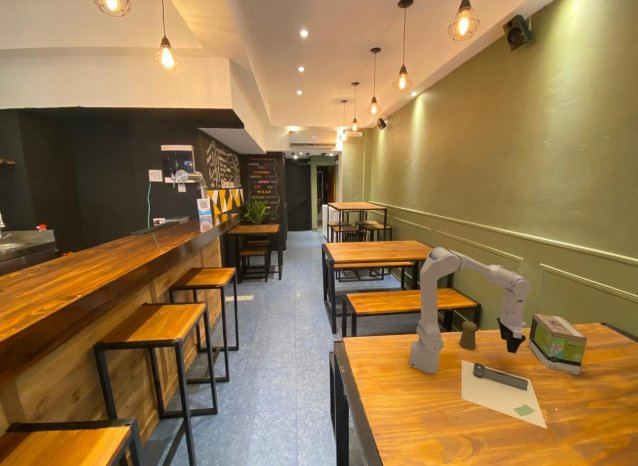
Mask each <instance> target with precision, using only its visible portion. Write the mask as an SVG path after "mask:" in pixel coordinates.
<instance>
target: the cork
mask: <svg viewBox="0 0 638 466" xmlns="http://www.w3.org/2000/svg"><path fill="white" fill-rule="evenodd" d="M461 326H462V327H461V328H462V332H461V337H460V340H459V346H460V347H461V348H462V349H465V350H467V351H474V350H476V333H477V331H478V326H477V324H476V323H475V322H473V321H469V320H468V321H467V320H466V321H463V322H462V325H461Z"/></svg>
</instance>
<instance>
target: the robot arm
mask: <svg viewBox="0 0 638 466" xmlns="http://www.w3.org/2000/svg"><path fill="white" fill-rule="evenodd" d="M465 268H466V269H468V270H471V271H473V272H476V273H479V274H481V275H483V277H484V279H485V281H487V282H490V283H491V284H493V285H497V286H499V287H501V288H504V289H503V291H504V292H503V299H502V306H501V307H502V308H501V316H500V317H496V320H497V323H498V327H499V331H500V332H499V333H500V338H501V340H504V341H506V349H507V353H510V354H516V353H517V352H518V349H519V348H520V346H521V345H522V344H523V343H524V342H525V341H526V340H527V337H526V336H525V335H524V334H523V333H522V330H523V327H527V324H526V322H525V321H523V318H524V310H525V305H526V304H525V303H526V299H527V298H528V295H529V294H530V293H531V292H532V289H533V286H531V282H530V281H529V279H527V278H525V277H523V276H521V275H520V274H518V273H517V272H516V271H513V270H512V271H511V270H508V269H505V267H504V266H503V265H500V264H497V265H496V264H489V265H486V264H484V263H482V262H480V261H477V260H476V259H474V258H471V257H469V256H467V255H465V254H463V253H460V252H457V251H454V250H452V249H448V250H447V249H446V248H444V247H442V246H438V247H437V246H436V247H435V248H433V249H432V250H430V251H429V252H428V253H427V255H426V259H425V261H424V263H423V265H422V267H421V269H420V271H419V284H420V285H419V286H420V291H419V293H420V317H421V318H420V319H419V320H418V325H417V327H416V331H415V332H416V334H417V336H418V341H417V340H416V341H415V340H412V341H411V345H410V355H409V365H408V366H409V367H411V368H415V369H416V370H419V371H421V372H423V373H426V374H435V373H437V372H438V369H439V362H440V361H439V359H440V352H441V351H442V350H443V349H444V346H445V343H444V340H443V338H442V337H441V336H442V335H441V330H440V326H439V323H438V322H439V317H438V280H440V278H443V277H445V276H448V275H450V274H452V273H455V272H456V271H457V270H459V271H461V270H463V269H465Z"/></svg>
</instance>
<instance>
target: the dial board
mask: <svg viewBox="0 0 638 466" xmlns="http://www.w3.org/2000/svg"><path fill="white" fill-rule="evenodd" d="M474 364H475V363H474V362H470V361H466V360H463V359H462V360H461V399H462V400H464V401H467V402H471V403H473V404H476V405H477V406H478V405H479V406H481V407H484V408H487V409H490V410H493V411H495V412H498V413H501V414H504V415H506V416H510V417H512V418H515V419H518V420H520V421H524V422H526V423H530V424H532V425H534V426H537V427H541V428H543V429H547V430H548V428H547V424H546V421H545V419H544V416H543V413H542V410H541V407H540V404H539V402H538V399H537V396H536V393H535V391H534V387H533V384H532V382H531V380H530V379H528V378H525V377H522V376H518V375H515V374H512V373H509V372H505V371H501V370H499V369H498V370H497V369H495V368H490V367H487V366H485V365H483V366H484V367H485V368H487V369H491V370H494V371H497V372H501V373H504V374H508V375H511V376H515V377H518V378H521V379H525V380H527V381H528V386H527V390H524V389H520V388H517V387H514V386H511V385H507V384H504V383H501V382H498V381H494V380H491V379H488V378H485V377H483V378H479V377H476V376H475V375H474V374H473V369H474Z"/></svg>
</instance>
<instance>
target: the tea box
mask: <svg viewBox="0 0 638 466" xmlns="http://www.w3.org/2000/svg"><path fill="white" fill-rule="evenodd" d="M528 336H529V337H528V343H527V346H528V348H529V349H530V350H531V351H532V353H533V354H534V355H535V356H536V358H537V359H538V360H539V361H540V362H542V364H543V365H544V366H545V367H546V368H550V369H556V370H562V371H566V372H568V373H570V374H571V375H577V376H578V375H579V374H580V371H581V367H582V363H583V359H584V355H585V350H586V346H587V343H588V342H587V341H588V337H587V335H585V334H584V333H583V332H581V331H580V330H579V329H578V328H576V326H574V325H573V324H572V323H570V322H569V321H568V320H567V319H565V318H564V317H561V316H555V315H548V314H543V313H542V314H540V313H535V312H534V313H533V314H532V320H531V325H530V331H529V335H528Z"/></svg>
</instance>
